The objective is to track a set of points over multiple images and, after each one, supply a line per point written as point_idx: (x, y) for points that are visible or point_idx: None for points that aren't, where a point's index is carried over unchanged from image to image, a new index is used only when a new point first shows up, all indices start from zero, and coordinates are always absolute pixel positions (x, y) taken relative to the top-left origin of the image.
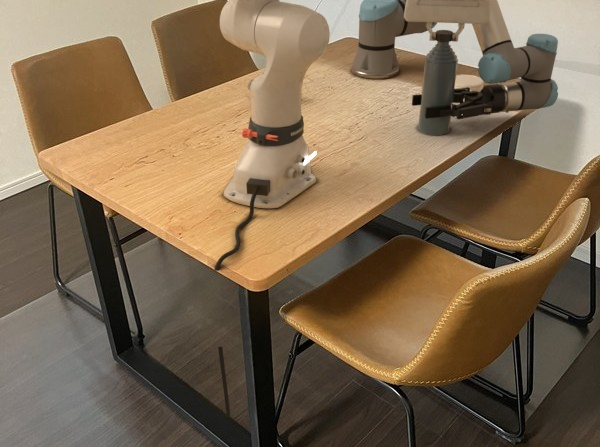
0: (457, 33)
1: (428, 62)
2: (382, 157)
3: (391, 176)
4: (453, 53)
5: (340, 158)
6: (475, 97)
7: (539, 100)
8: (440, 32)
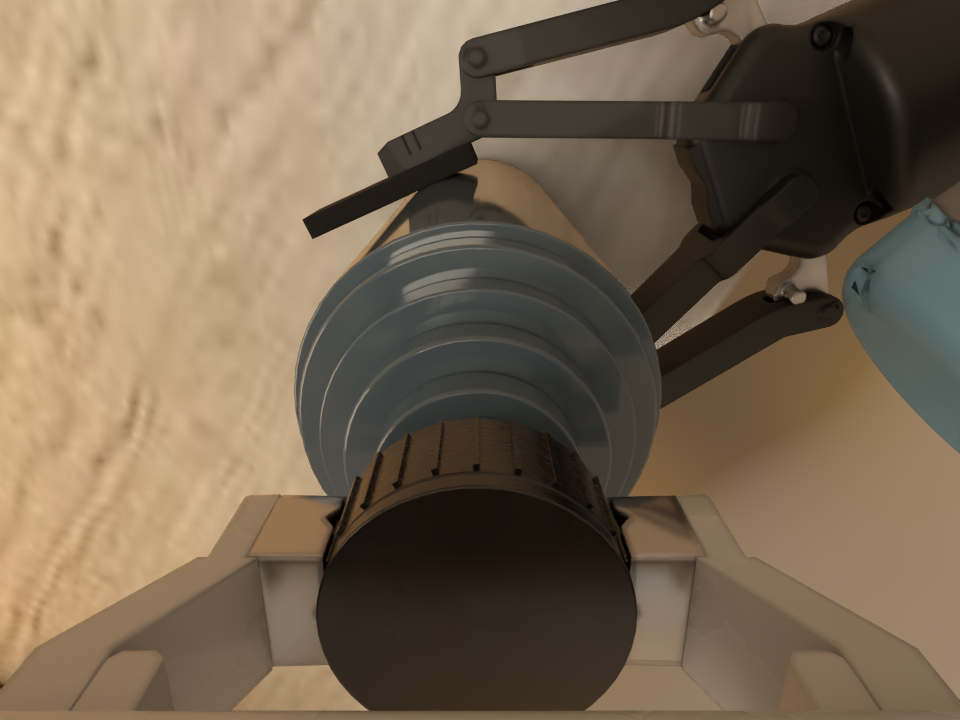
0: (711, 690)
1: None
2: None
3: (330, 696)
4: (615, 465)
5: (105, 601)
6: (755, 224)
7: None
8: (403, 657)
